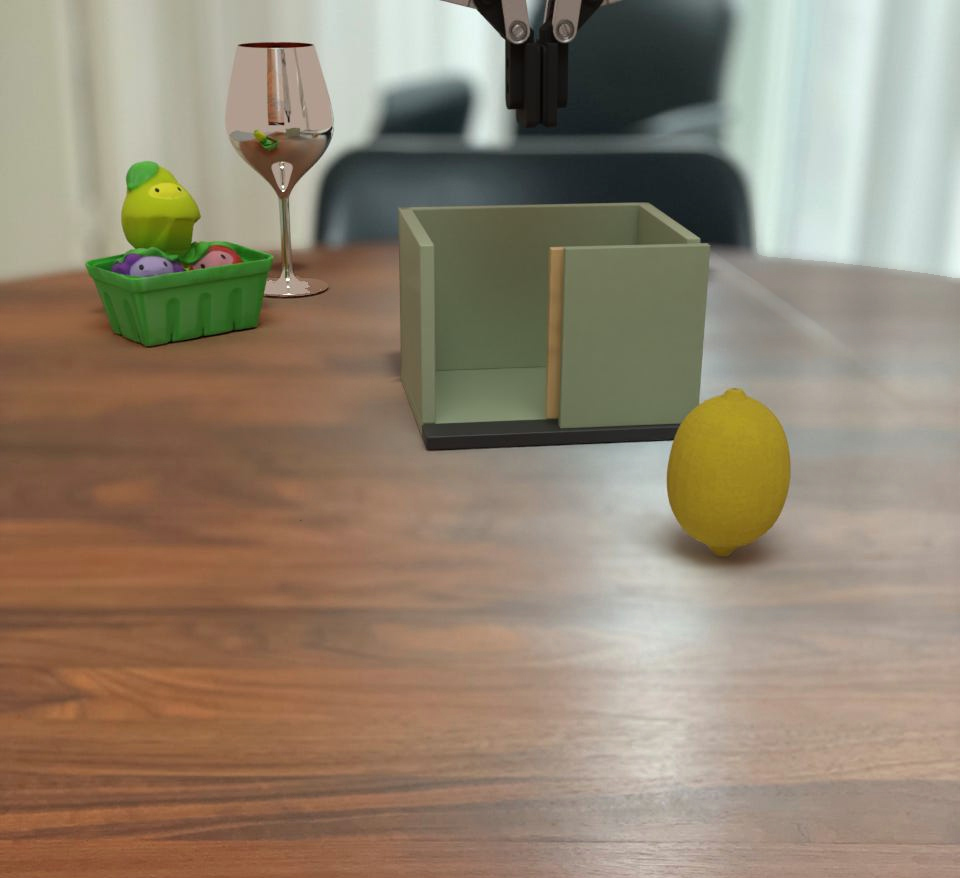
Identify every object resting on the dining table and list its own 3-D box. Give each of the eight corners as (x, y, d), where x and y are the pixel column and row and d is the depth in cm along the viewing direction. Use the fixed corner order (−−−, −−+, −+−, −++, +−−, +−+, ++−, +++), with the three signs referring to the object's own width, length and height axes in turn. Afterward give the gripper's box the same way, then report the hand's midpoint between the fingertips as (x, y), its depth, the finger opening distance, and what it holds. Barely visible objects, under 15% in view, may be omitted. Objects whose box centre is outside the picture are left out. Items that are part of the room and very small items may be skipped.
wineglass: (215, 288, 119) (197, 44, 111) (296, 272, 124) (284, 39, 116) (279, 305, 114) (266, 51, 106) (361, 288, 119) (353, 45, 111)
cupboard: (639, 372, 98) (648, 202, 93) (698, 439, 85) (712, 246, 81) (401, 381, 95) (398, 207, 91) (426, 450, 83) (424, 253, 78)
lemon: (805, 556, 70) (823, 389, 66) (733, 589, 66) (748, 415, 63) (710, 525, 73) (723, 364, 70) (637, 555, 70) (646, 387, 66)
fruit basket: (138, 354, 101) (122, 181, 96) (80, 329, 107) (61, 164, 102) (282, 328, 107) (274, 165, 102) (219, 305, 113) (208, 150, 108)
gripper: (673, -281, 74) (658, 111, 82) (370, -282, 72) (385, 120, 80) (717, -300, 67) (696, 129, 75) (385, -302, 65) (399, 139, 73)
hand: (536, 123), depth 77 cm, fingers closed
